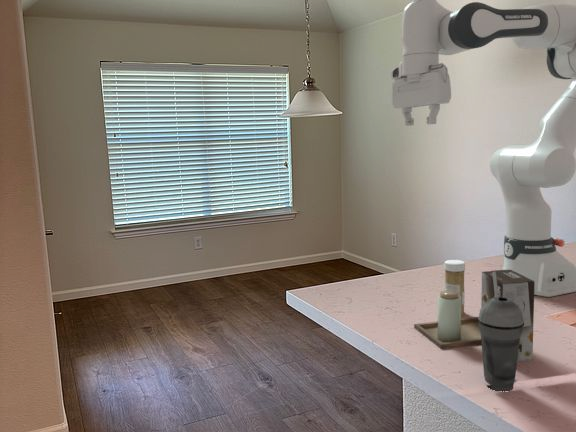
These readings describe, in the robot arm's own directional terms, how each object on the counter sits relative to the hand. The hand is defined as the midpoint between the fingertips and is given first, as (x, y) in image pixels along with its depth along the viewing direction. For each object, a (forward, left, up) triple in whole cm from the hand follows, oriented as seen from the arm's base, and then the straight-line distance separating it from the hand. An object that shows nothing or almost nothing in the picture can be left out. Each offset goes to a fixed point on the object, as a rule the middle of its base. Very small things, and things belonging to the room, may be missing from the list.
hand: (420, 124), depth 131 cm
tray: (+4, +27, -45) cm, 53 cm away
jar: (+8, +29, -44) cm, 53 cm away
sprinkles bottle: (-1, +15, -45) cm, 48 cm away
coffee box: (0, +38, -46) cm, 59 cm away
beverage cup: (+9, +48, -45) cm, 67 cm away
